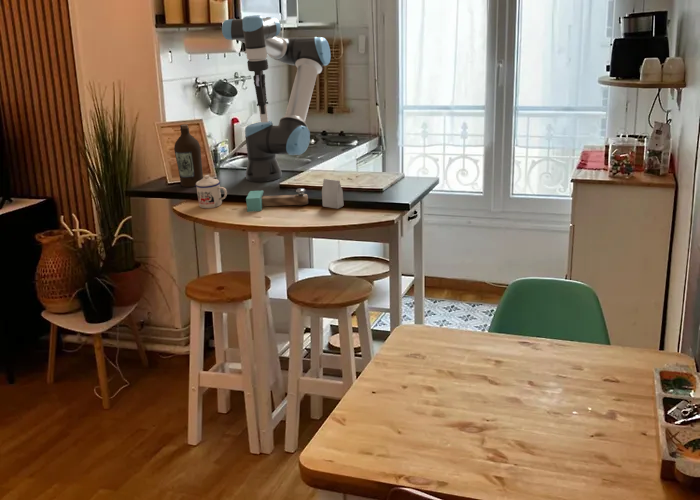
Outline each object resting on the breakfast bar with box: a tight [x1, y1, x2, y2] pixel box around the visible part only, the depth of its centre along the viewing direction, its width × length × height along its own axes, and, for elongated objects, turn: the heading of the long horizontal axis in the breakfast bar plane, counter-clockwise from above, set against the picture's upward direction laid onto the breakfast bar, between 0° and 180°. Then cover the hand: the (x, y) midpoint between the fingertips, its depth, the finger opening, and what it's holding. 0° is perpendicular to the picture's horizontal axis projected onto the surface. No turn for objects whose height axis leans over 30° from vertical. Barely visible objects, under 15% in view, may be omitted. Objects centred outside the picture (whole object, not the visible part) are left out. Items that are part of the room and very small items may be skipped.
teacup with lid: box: [195, 174, 228, 209], centre depth 283 cm, size 12×9×12 cm
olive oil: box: [173, 123, 204, 188], centre depth 311 cm, size 11×11×25 cm
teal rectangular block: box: [245, 189, 264, 213], centre depth 279 cm, size 10×5×5 cm, turn 178°
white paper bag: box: [321, 178, 345, 210], centre depth 274 cm, size 4×7×10 cm, turn 56°
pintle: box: [295, 187, 306, 196], centre depth 278 cm, size 3×3×2 cm
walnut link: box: [262, 193, 309, 207], centre depth 280 cm, size 21×5×3 cm, turn 87°
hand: (264, 121), depth 288 cm, fingers closed
